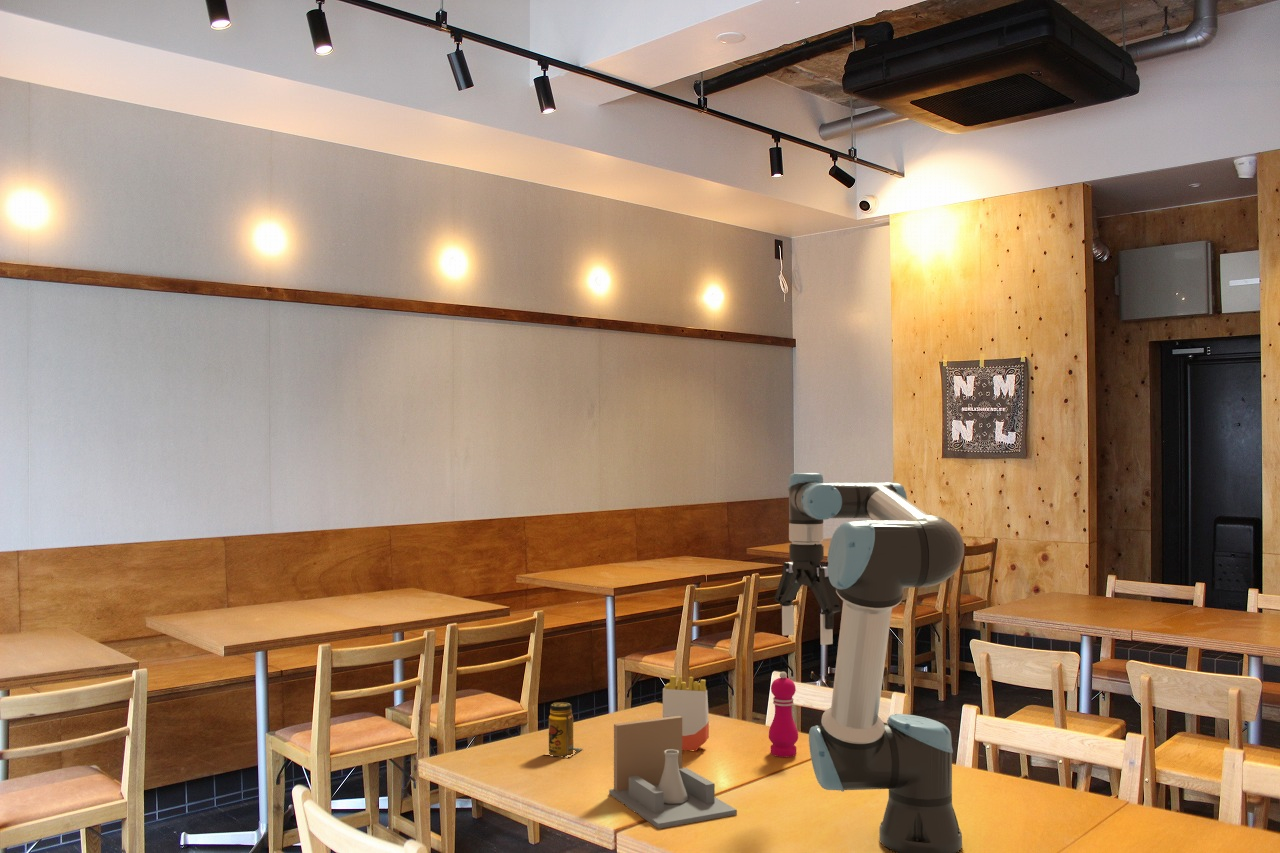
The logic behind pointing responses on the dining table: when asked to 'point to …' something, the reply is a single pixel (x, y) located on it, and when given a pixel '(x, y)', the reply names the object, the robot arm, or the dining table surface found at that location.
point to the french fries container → (688, 710)
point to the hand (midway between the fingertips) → (806, 639)
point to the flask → (672, 779)
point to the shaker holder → (659, 775)
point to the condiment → (561, 730)
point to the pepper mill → (783, 718)
